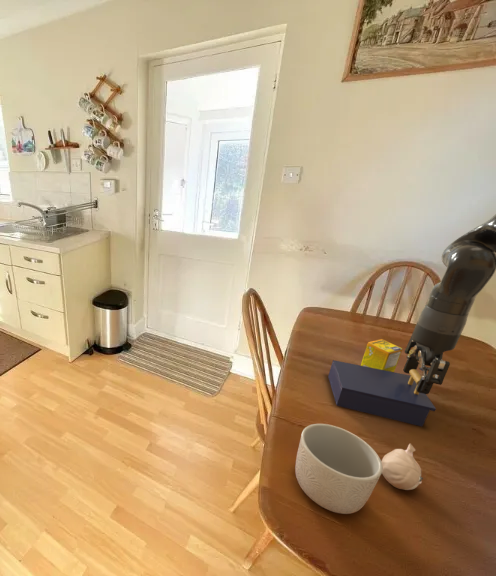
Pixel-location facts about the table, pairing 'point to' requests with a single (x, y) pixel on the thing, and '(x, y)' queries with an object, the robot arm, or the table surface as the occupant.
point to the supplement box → (381, 355)
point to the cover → (382, 384)
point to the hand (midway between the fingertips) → (414, 382)
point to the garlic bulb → (402, 469)
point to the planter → (336, 468)
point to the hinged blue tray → (376, 404)
